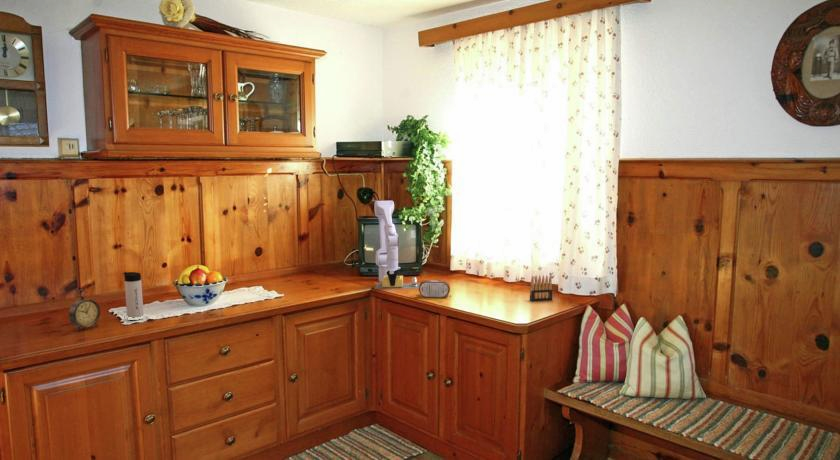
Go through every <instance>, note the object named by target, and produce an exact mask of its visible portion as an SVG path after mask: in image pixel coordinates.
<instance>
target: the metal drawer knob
mask: <svg viewBox="0 0 840 460" xmlns="http://www.w3.org/2000/svg"><path fill="white" fill-rule="evenodd" d="M411 283H412V284H411V286H412V287H417V286H418V284H417V283H418V279H417V277H416V276H415V277H412V279H411Z"/></svg>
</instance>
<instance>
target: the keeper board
mask: <svg viewBox="0 0 840 460" xmlns="http://www.w3.org/2000/svg"><path fill="white" fill-rule="evenodd" d="M420 283H421V282H420ZM420 283H419V282H417V284H418V286H417V287H412V286H411V284H412V282H409V283H408V282H403V286H402V287H382V282H379V283H378V282H377V283H376V284H375V287H374V289H375V290H394V289H395V290H409V289H410V290H412V289H413V290H419V285H420Z"/></svg>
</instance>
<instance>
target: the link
mask: <svg viewBox="0 0 840 460" xmlns="http://www.w3.org/2000/svg"><path fill="white" fill-rule="evenodd" d="M381 283H382V287H402V286H403V283H404V275H397V276H396V281H395V286H390V281H389V277H388V276H384V277H383V279H382V282H381Z"/></svg>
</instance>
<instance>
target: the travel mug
mask: <svg viewBox="0 0 840 460" xmlns="http://www.w3.org/2000/svg"><path fill="white" fill-rule="evenodd" d="M122 275H124V276H123V277H124V293H125V306H126V307H125V308H126V317H127V316H128V317H132V318H135V317H141V316H143V315H144V303H143V301H144V300H143V288H142V287H143V286H142V275H141V272H135V271H133V272H132V271H130V272H128V271H126V272H123V273H122Z"/></svg>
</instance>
